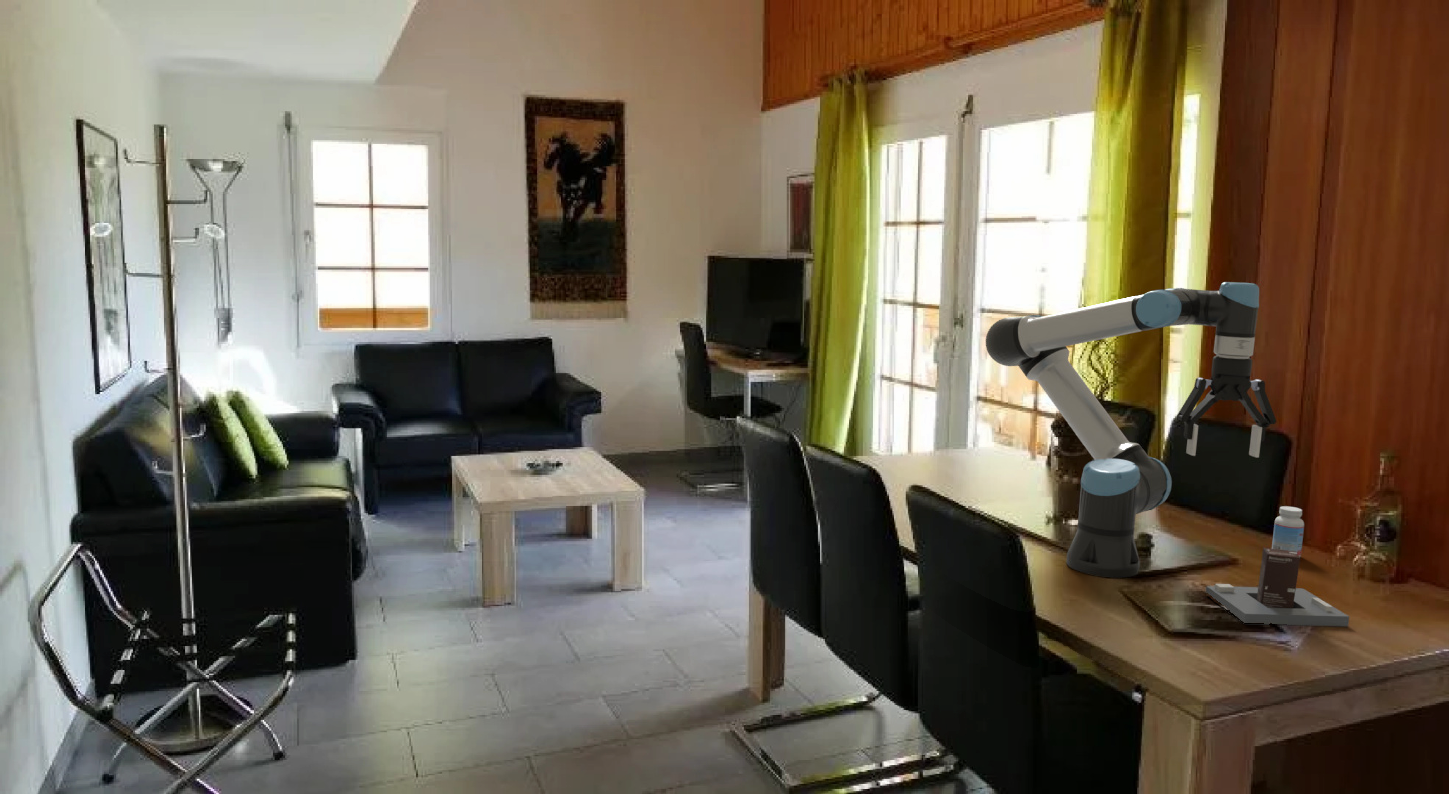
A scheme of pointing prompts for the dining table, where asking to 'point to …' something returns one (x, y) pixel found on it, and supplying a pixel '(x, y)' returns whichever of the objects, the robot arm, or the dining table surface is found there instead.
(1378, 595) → the dining table surface
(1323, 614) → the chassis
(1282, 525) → the pill bottle
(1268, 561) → the box
